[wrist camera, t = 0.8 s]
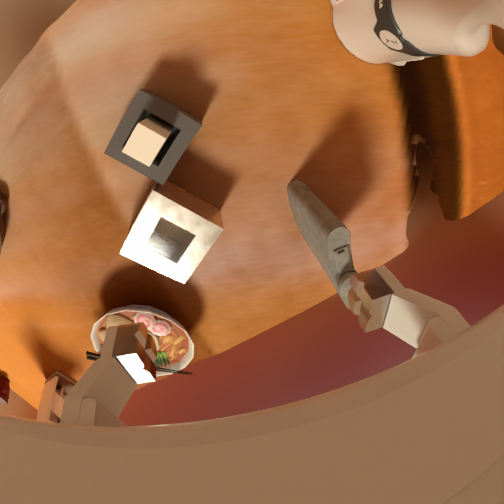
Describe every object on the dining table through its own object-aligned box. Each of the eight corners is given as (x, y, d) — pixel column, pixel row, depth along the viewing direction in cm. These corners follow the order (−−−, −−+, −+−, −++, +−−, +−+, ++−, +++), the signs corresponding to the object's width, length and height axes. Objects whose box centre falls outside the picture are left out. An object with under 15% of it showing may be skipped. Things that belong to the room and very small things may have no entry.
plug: (152, 115, 36) (138, 122, 27) (174, 128, 37) (166, 138, 29) (138, 137, 37) (121, 151, 29) (160, 149, 39) (149, 166, 30)
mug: (-1, 369, 62) (-8, 390, 54) (15, 381, 66) (9, 401, 58) (-5, 376, 64) (-11, 395, 56) (10, 386, 69) (5, 405, 60)
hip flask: (325, 245, 55) (373, 314, 39) (307, 253, 56) (349, 326, 39) (300, 176, 46) (357, 233, 30) (279, 186, 47) (325, 248, 30)
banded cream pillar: (70, 393, 72) (59, 480, 43) (46, 379, 67) (29, 468, 38) (83, 386, 70) (72, 482, 41) (57, 370, 65) (39, 469, 36)
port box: (159, 175, 42) (152, 190, 36) (220, 209, 47) (223, 229, 41) (128, 232, 46) (119, 253, 40) (185, 260, 51) (184, 284, 46)
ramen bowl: (210, 298, 58) (213, 327, 51) (186, 359, 68) (187, 386, 61) (94, 271, 49) (83, 299, 42) (93, 341, 59) (87, 366, 53)
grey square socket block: (147, 89, 34) (139, 89, 29) (202, 120, 38) (202, 125, 33) (115, 144, 38) (104, 153, 33) (167, 173, 42) (163, 185, 37)
